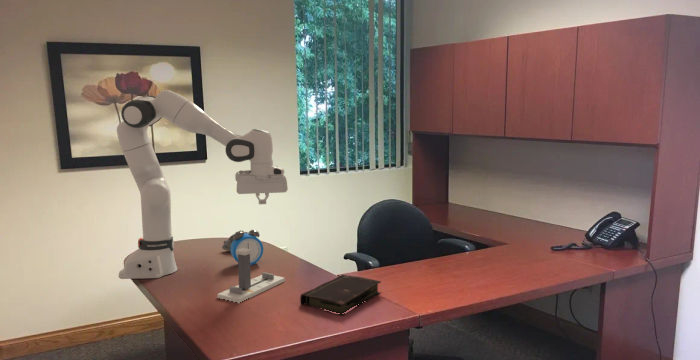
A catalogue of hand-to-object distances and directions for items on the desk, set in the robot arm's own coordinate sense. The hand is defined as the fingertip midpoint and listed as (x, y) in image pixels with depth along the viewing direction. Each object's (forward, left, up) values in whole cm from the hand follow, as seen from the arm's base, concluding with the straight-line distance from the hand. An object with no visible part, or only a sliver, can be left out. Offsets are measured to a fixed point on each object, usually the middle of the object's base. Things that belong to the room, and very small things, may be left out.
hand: (262, 204), depth 199 cm
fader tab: (-9, -21, -27) cm, 35 cm away
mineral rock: (-8, +37, -29) cm, 48 cm away
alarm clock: (-6, +14, -29) cm, 33 cm away
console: (-6, -18, -29) cm, 34 cm away
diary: (+24, -36, -30) cm, 53 cm away
